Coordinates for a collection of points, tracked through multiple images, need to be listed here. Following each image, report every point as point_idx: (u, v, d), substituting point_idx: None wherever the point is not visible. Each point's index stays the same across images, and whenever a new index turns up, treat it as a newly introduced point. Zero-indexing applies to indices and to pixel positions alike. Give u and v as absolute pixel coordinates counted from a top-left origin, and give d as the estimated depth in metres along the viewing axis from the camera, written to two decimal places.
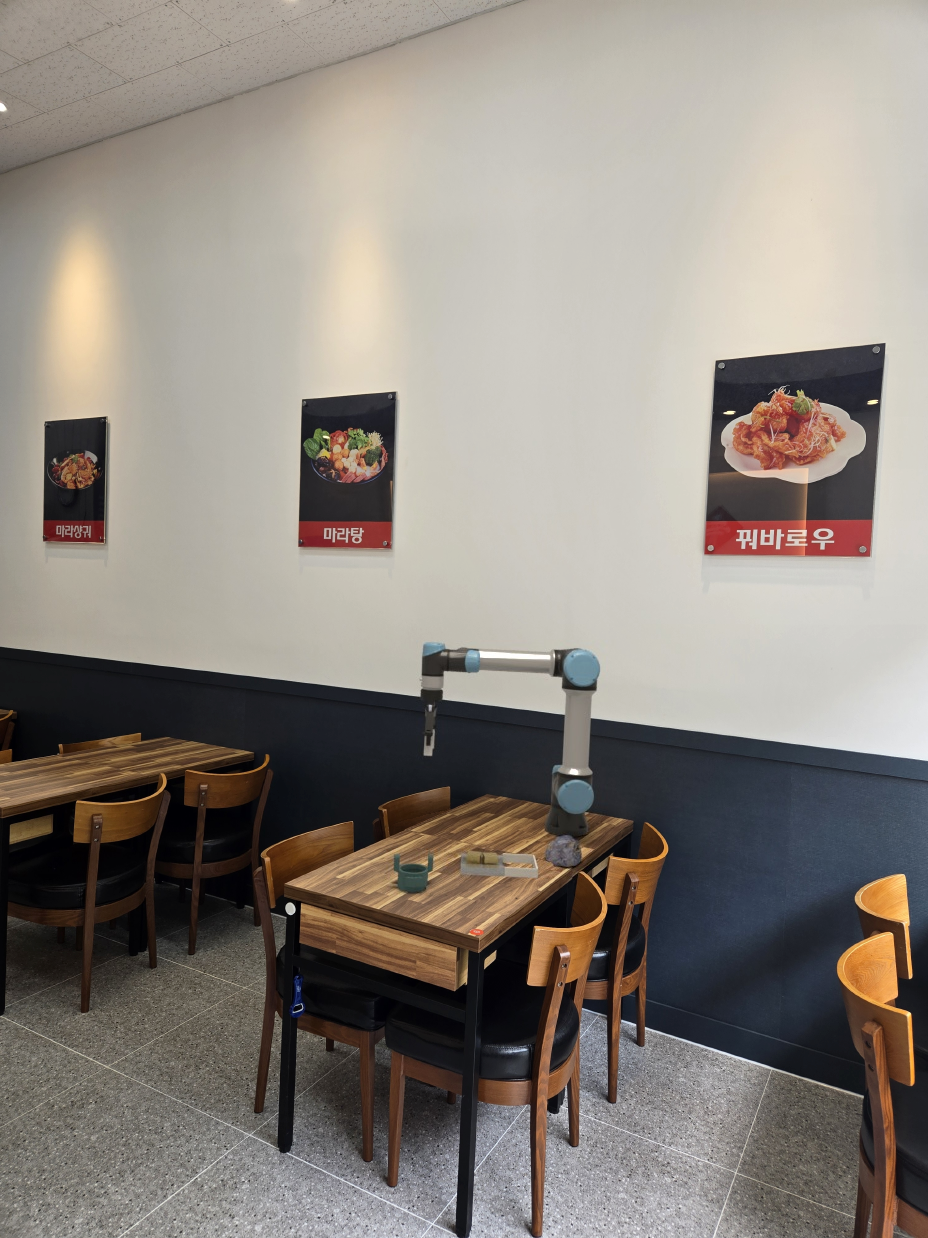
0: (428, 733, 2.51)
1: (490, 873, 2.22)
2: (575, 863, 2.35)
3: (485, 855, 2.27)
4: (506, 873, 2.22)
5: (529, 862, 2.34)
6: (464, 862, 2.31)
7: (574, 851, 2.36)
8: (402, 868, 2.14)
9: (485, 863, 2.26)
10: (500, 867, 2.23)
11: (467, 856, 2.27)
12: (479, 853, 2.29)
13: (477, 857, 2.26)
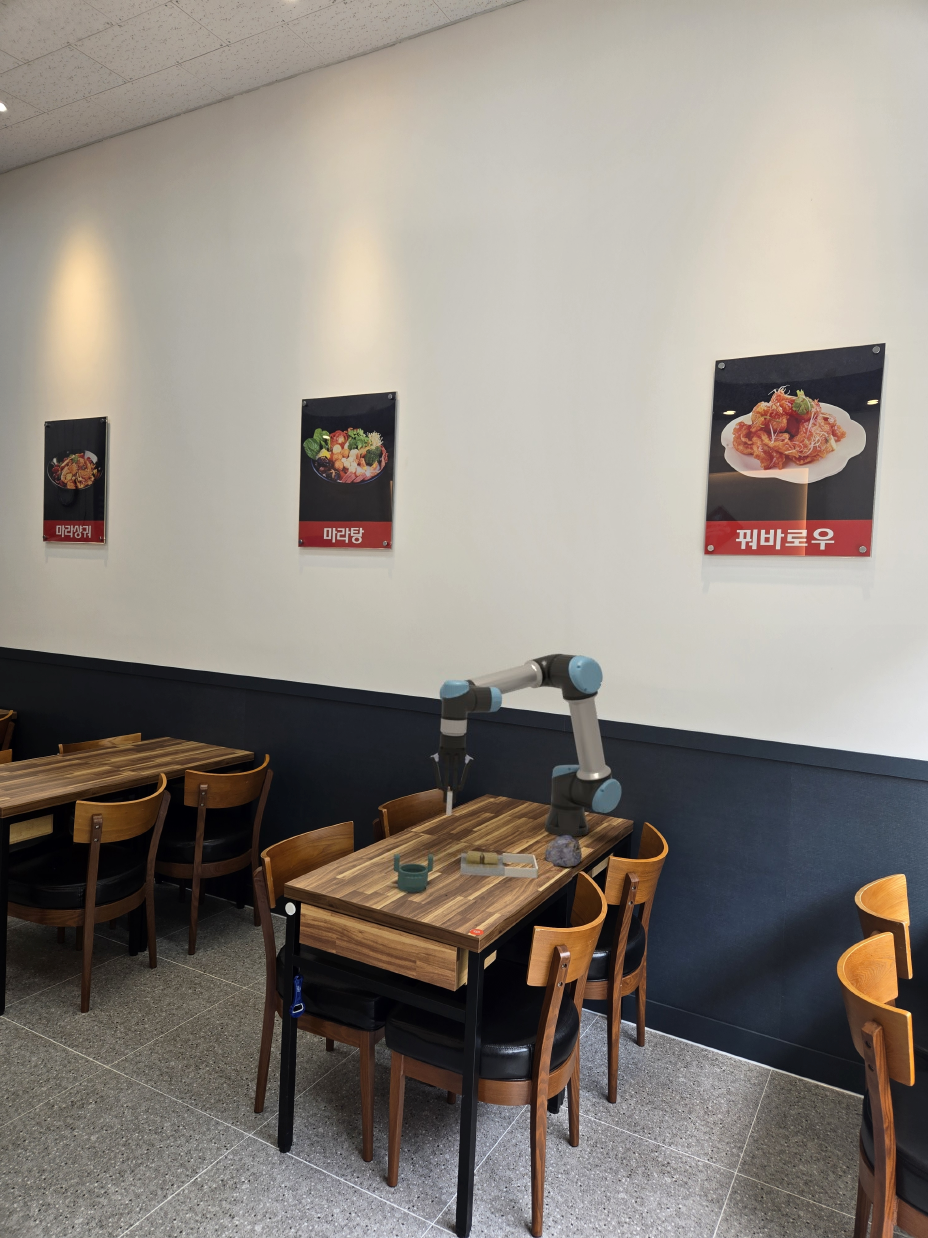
0: None
1: (490, 873, 2.22)
2: (575, 863, 2.35)
3: (485, 855, 2.27)
4: (506, 873, 2.22)
5: (529, 862, 2.34)
6: (464, 862, 2.31)
7: (574, 851, 2.36)
8: (402, 868, 2.14)
9: (485, 863, 2.26)
10: (500, 867, 2.23)
11: (467, 856, 2.27)
12: (479, 853, 2.29)
13: (477, 857, 2.26)
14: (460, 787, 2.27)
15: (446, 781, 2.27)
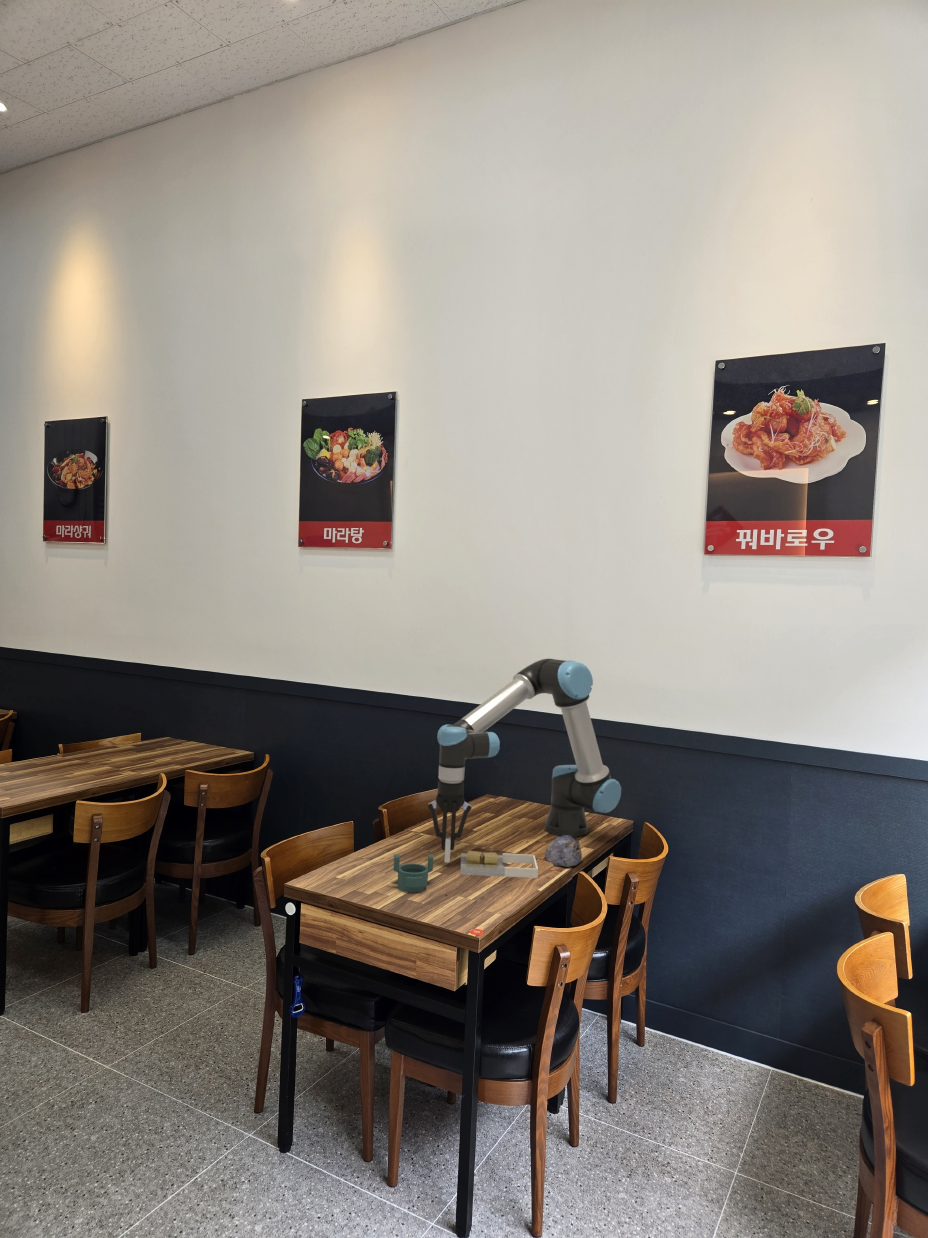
0: None
1: (490, 873, 2.22)
2: (575, 863, 2.35)
3: (485, 855, 2.27)
4: (506, 873, 2.22)
5: (529, 862, 2.34)
6: (464, 862, 2.31)
7: (574, 851, 2.36)
8: (402, 868, 2.14)
9: (485, 863, 2.26)
10: (500, 867, 2.23)
11: (467, 856, 2.27)
12: (479, 853, 2.29)
13: (477, 857, 2.26)
14: (458, 834, 2.27)
15: (444, 828, 2.27)
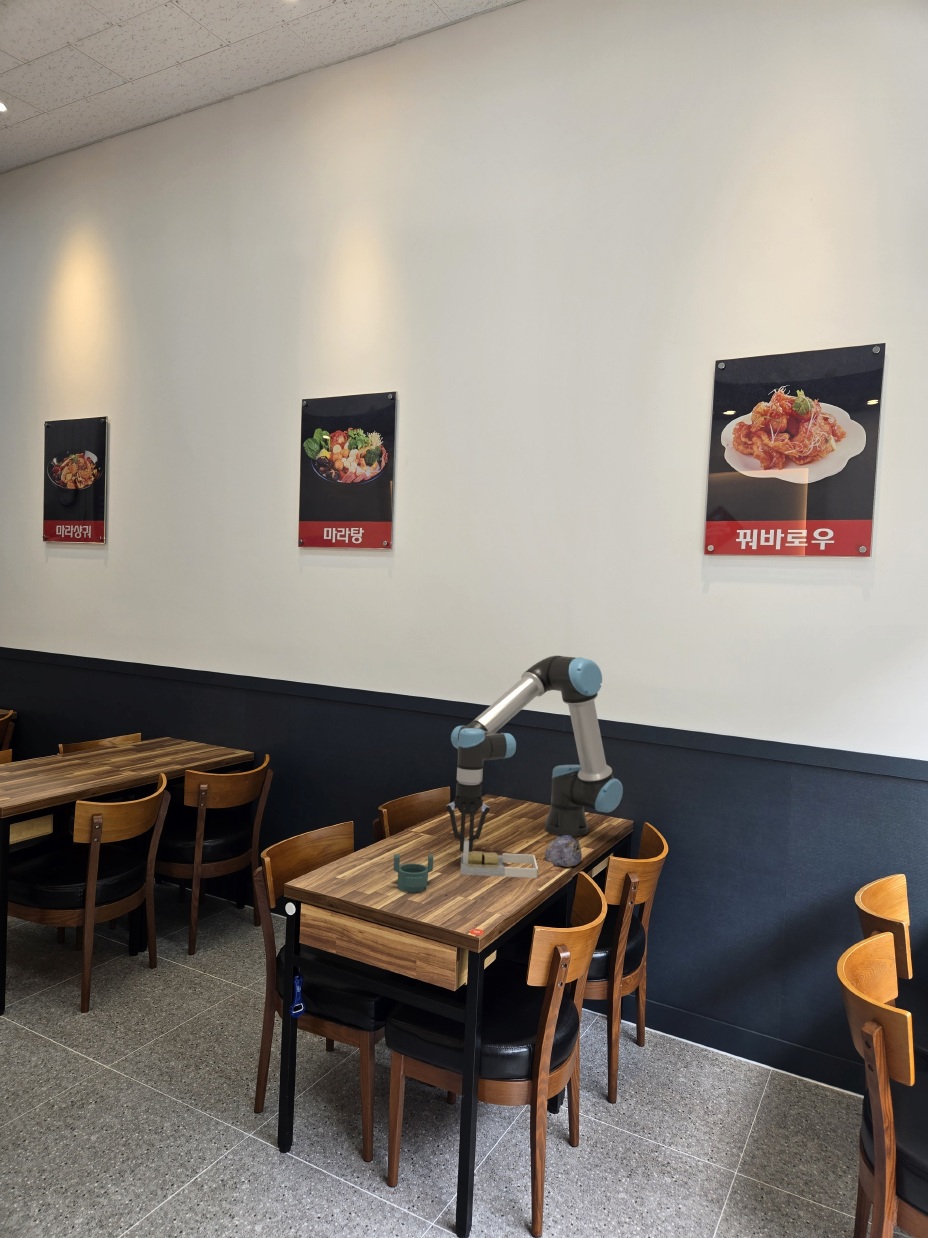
0: None
1: (490, 873, 2.22)
2: (575, 863, 2.35)
3: (485, 855, 2.27)
4: (506, 873, 2.22)
5: (529, 862, 2.34)
6: None
7: (574, 851, 2.36)
8: (402, 868, 2.14)
9: (485, 863, 2.26)
10: (500, 867, 2.23)
11: (469, 856, 2.27)
12: (480, 853, 2.29)
13: (479, 857, 2.26)
14: (477, 836, 2.27)
15: (463, 829, 2.27)
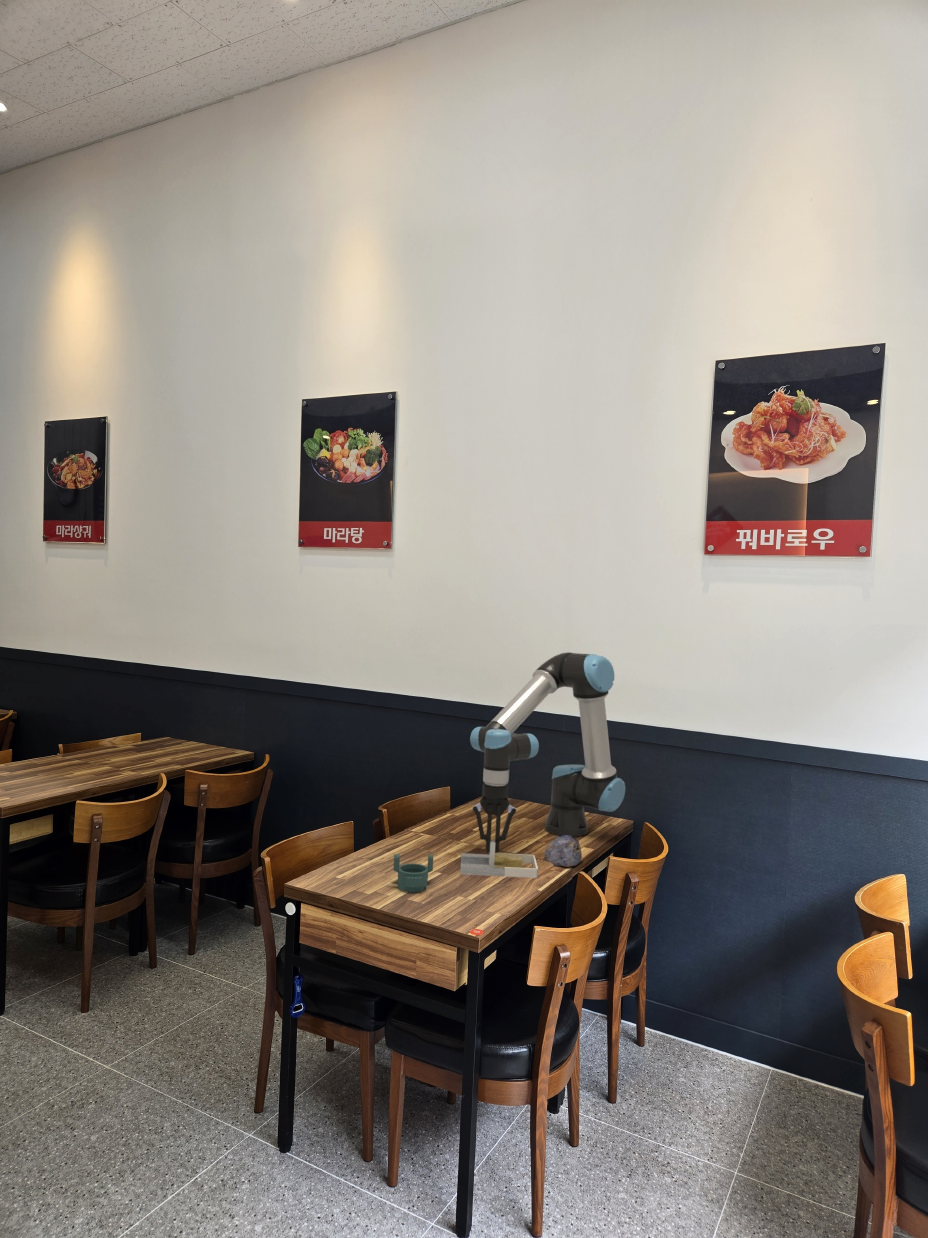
0: None
1: (490, 873, 2.22)
2: (575, 863, 2.35)
3: (509, 858, 2.27)
4: (506, 873, 2.22)
5: (529, 862, 2.34)
6: (464, 862, 2.31)
7: (574, 851, 2.36)
8: (402, 868, 2.14)
9: (509, 866, 2.26)
10: (500, 867, 2.23)
11: (495, 858, 2.26)
12: (506, 854, 2.29)
13: (506, 858, 2.26)
14: (503, 837, 2.27)
15: (489, 831, 2.27)
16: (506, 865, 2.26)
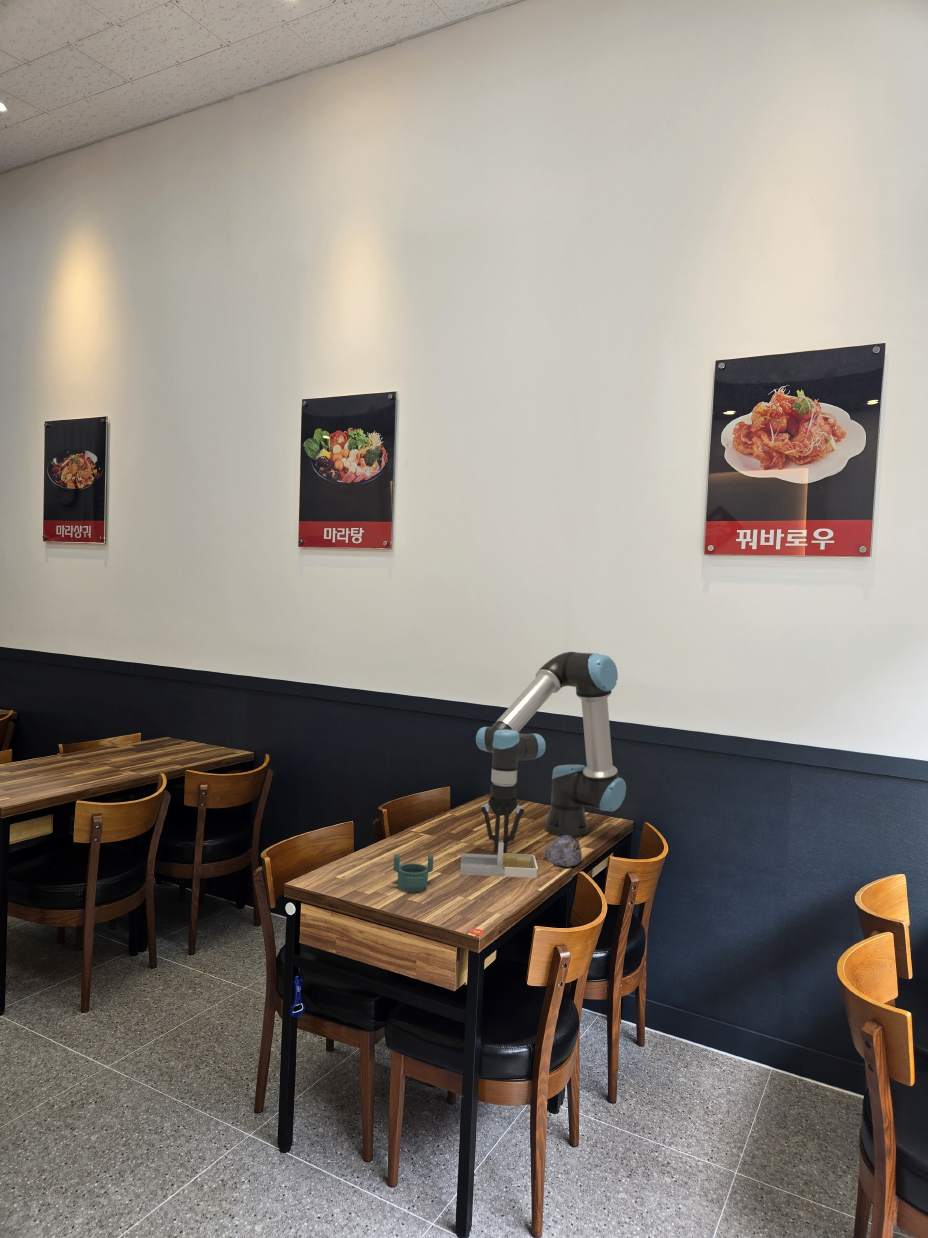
0: None
1: (490, 873, 2.22)
2: (575, 863, 2.35)
3: (518, 858, 2.27)
4: (506, 873, 2.22)
5: None
6: (464, 862, 2.31)
7: (574, 851, 2.36)
8: (402, 868, 2.14)
9: (517, 866, 2.26)
10: (500, 867, 2.23)
11: (504, 858, 2.26)
12: (514, 854, 2.29)
13: (514, 859, 2.26)
14: (511, 837, 2.27)
15: (497, 831, 2.27)
16: (514, 866, 2.26)
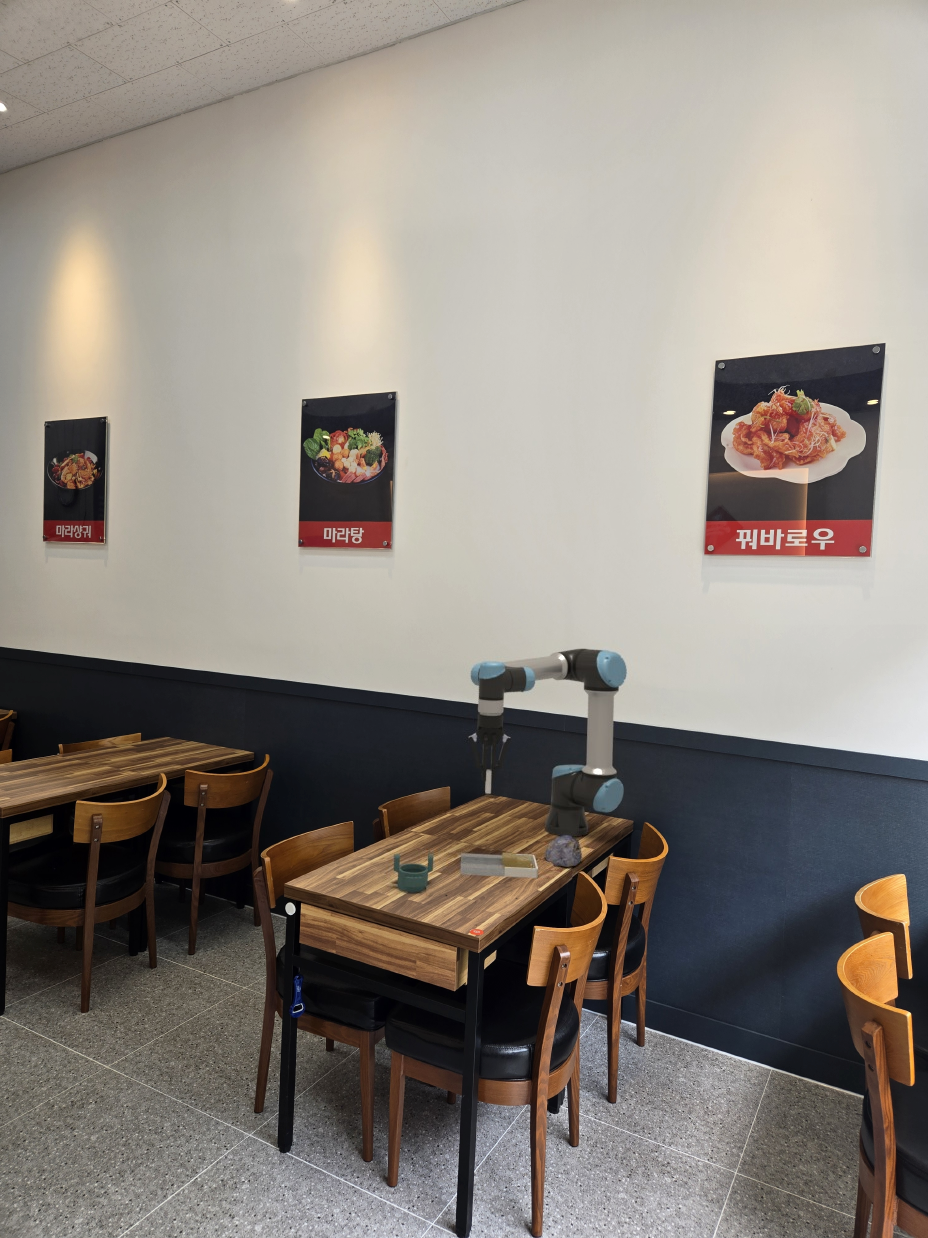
0: None
1: (490, 873, 2.22)
2: (575, 863, 2.35)
3: (518, 858, 2.27)
4: (506, 873, 2.22)
5: None
6: (464, 862, 2.31)
7: (574, 851, 2.36)
8: (402, 868, 2.14)
9: (517, 866, 2.26)
10: (500, 867, 2.23)
11: (504, 858, 2.26)
12: (514, 854, 2.29)
13: (514, 859, 2.26)
14: (499, 766, 2.31)
15: (485, 760, 2.31)
16: (514, 866, 2.26)
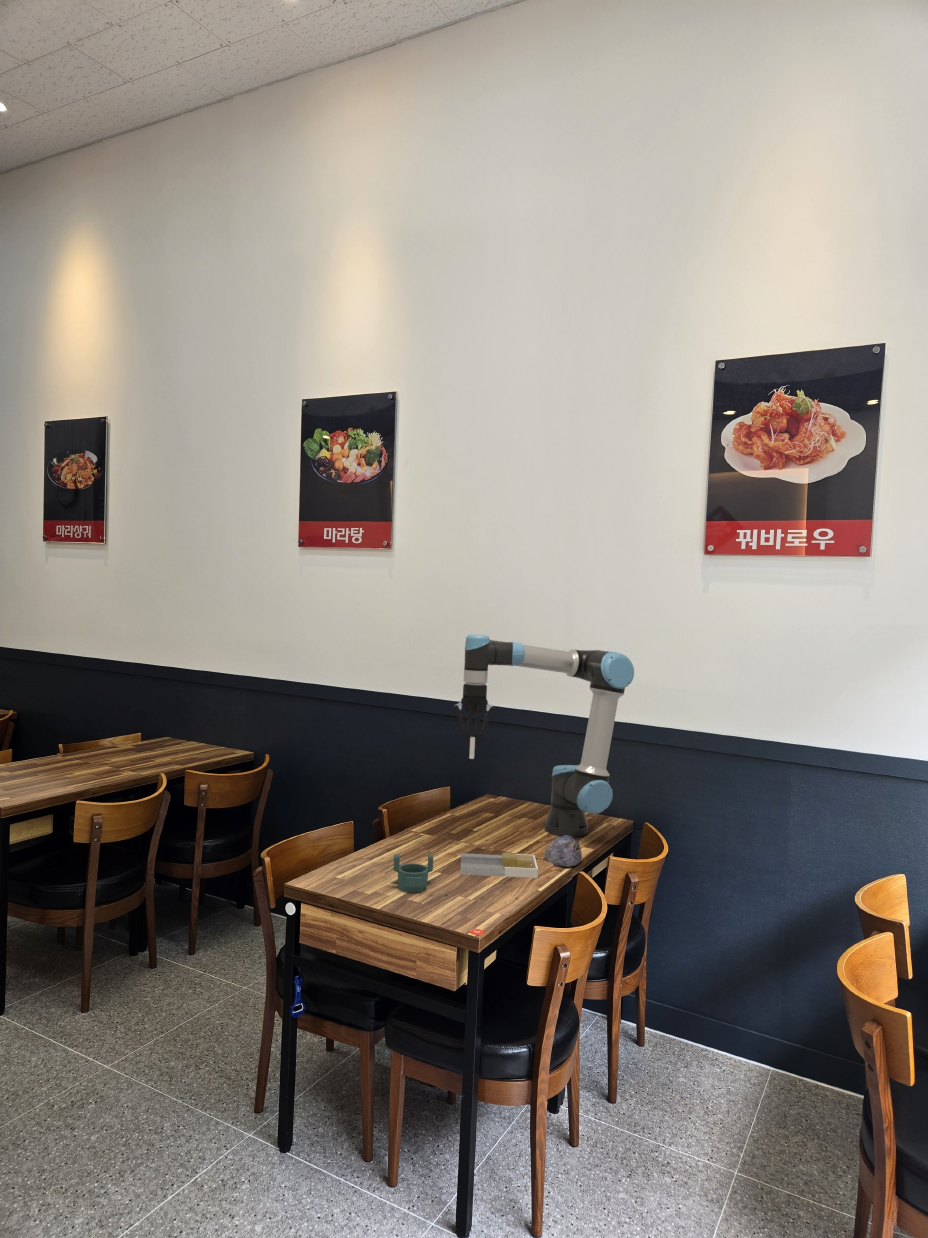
0: None
1: (490, 873, 2.22)
2: (575, 863, 2.35)
3: (518, 858, 2.27)
4: (506, 873, 2.22)
5: None
6: (464, 862, 2.31)
7: (574, 851, 2.36)
8: (402, 868, 2.14)
9: (517, 866, 2.26)
10: (500, 867, 2.23)
11: (504, 858, 2.26)
12: (514, 854, 2.29)
13: (514, 859, 2.26)
14: (482, 733, 2.45)
15: (469, 727, 2.45)
16: (514, 866, 2.26)
